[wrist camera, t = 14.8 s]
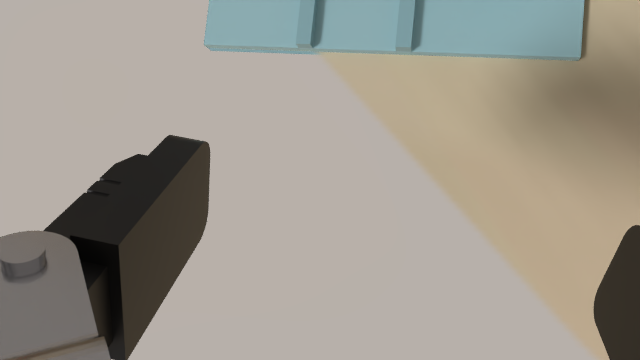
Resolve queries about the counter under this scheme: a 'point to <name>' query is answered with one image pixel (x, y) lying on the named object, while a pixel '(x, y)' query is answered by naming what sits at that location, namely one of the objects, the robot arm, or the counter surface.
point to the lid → (399, 27)
